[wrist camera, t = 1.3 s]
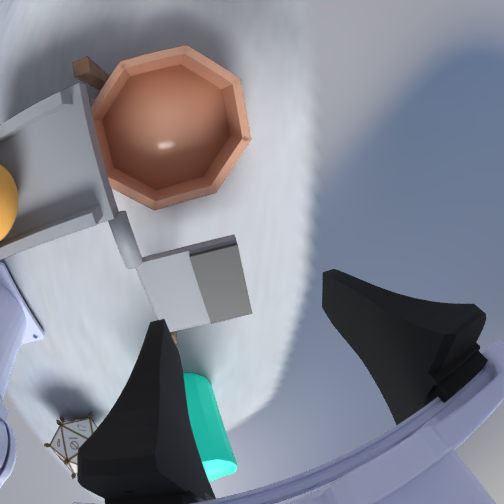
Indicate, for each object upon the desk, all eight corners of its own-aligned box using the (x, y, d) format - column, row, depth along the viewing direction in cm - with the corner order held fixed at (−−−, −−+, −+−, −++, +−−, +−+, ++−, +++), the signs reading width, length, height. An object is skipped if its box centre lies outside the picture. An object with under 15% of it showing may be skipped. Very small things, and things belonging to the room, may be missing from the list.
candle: (146, 389, 26) (160, 491, 16) (187, 364, 26) (215, 472, 16) (182, 410, 30) (204, 499, 19) (222, 388, 30) (255, 480, 19)
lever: (60, 346, 16) (49, 377, 14) (-29, 149, 9) (-60, 161, 6) (249, 306, 18) (260, 340, 15) (197, 51, 11) (200, 34, 8)
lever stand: (77, 320, 21) (65, 371, 16) (1, 125, 12) (-45, 132, 7) (170, 292, 22) (177, 343, 17) (108, 75, 14) (87, 56, 9)
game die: (83, 406, 30) (66, 464, 23) (46, 388, 23) (25, 457, 17) (137, 430, 28) (119, 494, 22) (102, 419, 22) (81, 498, 15)
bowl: (120, 206, 18) (113, 223, 15) (89, 84, 14) (75, 77, 11) (242, 172, 20) (258, 182, 17) (220, 51, 16) (233, 38, 13)
